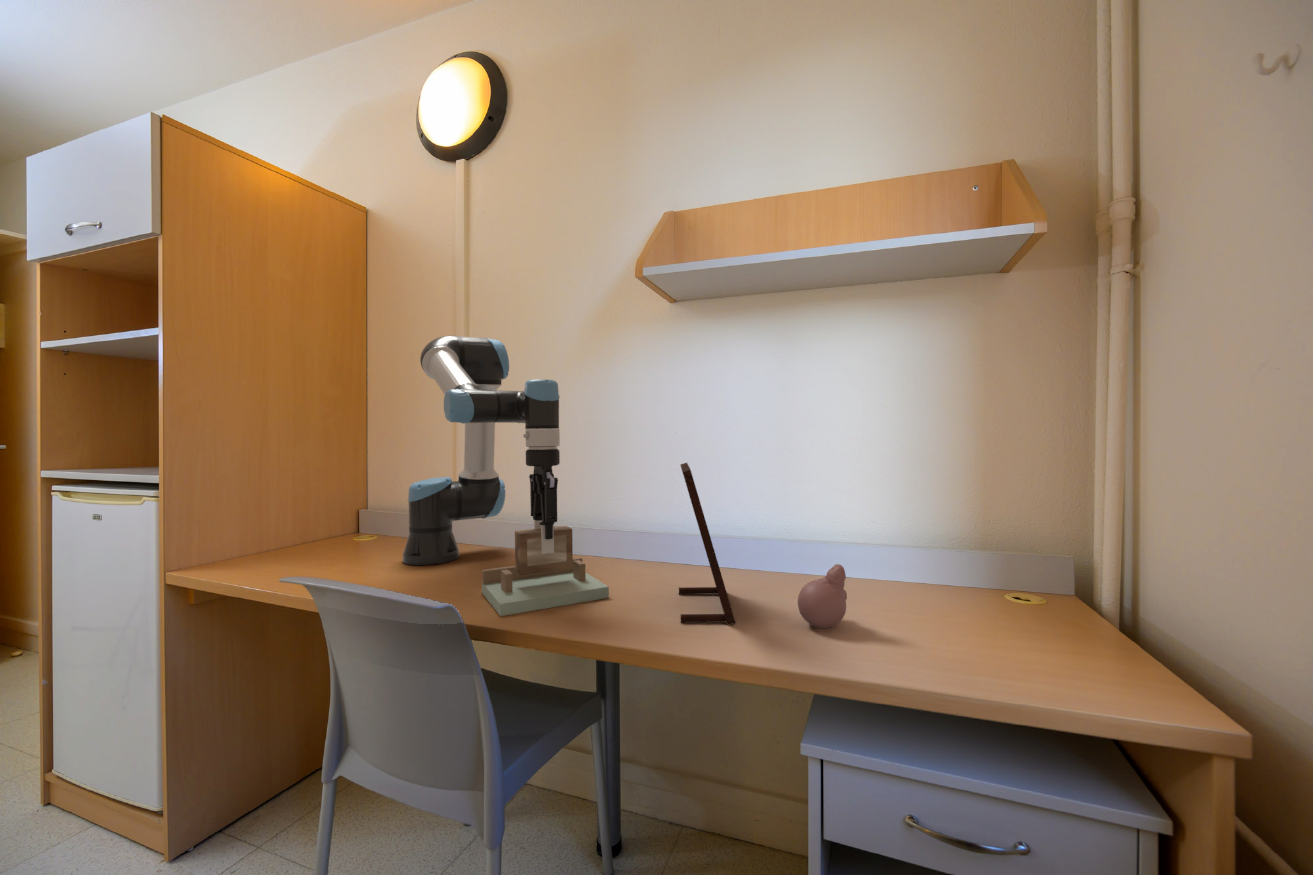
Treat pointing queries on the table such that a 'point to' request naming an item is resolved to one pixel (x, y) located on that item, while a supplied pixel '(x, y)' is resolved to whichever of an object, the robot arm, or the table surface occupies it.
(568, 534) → the walnut frame
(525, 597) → the green assembly board
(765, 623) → the table surface
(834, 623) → the figurine
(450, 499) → the robot arm
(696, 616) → the black easel stand
